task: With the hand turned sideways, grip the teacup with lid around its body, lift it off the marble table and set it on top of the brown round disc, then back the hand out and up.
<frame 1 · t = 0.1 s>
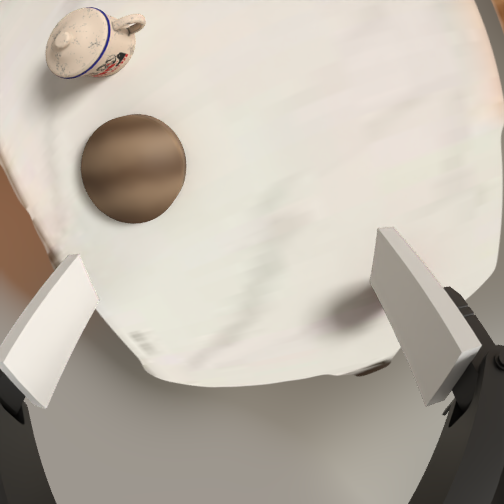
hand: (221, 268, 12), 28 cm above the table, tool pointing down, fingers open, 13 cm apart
teacup with lid: (118, 44, 27), on the table
brown round disc: (135, 166, 37), on the table
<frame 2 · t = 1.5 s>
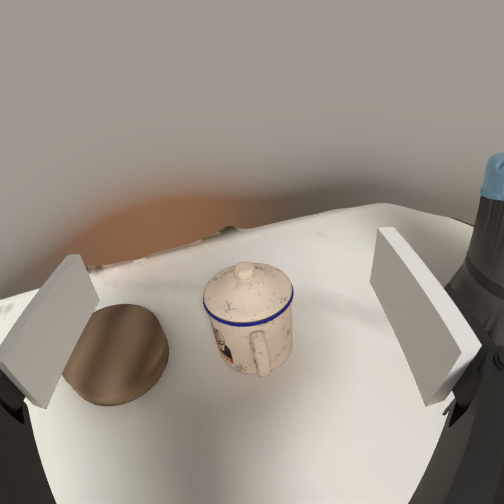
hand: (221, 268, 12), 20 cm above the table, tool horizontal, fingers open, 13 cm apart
teacup with lid: (258, 356, 32), on the table
brown round disc: (116, 358, 33), on the table
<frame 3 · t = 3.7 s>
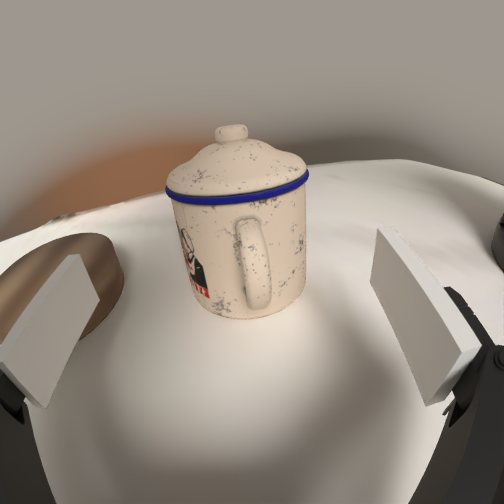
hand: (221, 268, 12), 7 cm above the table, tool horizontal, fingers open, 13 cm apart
teacup with lid: (252, 296, 21), on the table
brown round disc: (55, 299, 22), on the table
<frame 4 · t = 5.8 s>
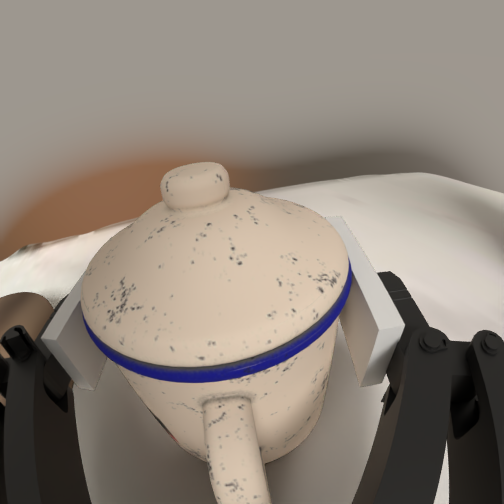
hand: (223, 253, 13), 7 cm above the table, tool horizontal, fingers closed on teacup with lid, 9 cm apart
teacup with lid: (244, 420, 13), on the table, touching gripper
brown round disc: (3, 381, 13), on the table
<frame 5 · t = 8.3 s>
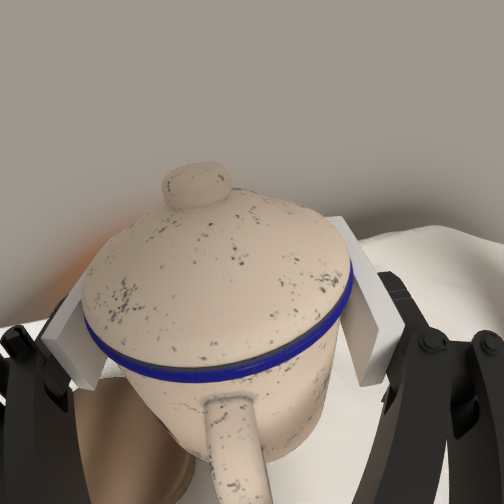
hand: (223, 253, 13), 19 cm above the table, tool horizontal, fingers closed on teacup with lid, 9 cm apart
teacup with lid: (245, 420, 13), point 11 cm above the table, touching gripper
brown round disc: (120, 452, 20), on the table
when the fingers open (12 cm above the table, at t = 10.7 s): teacup with lid drops 2 cm, resting on brown round disc.
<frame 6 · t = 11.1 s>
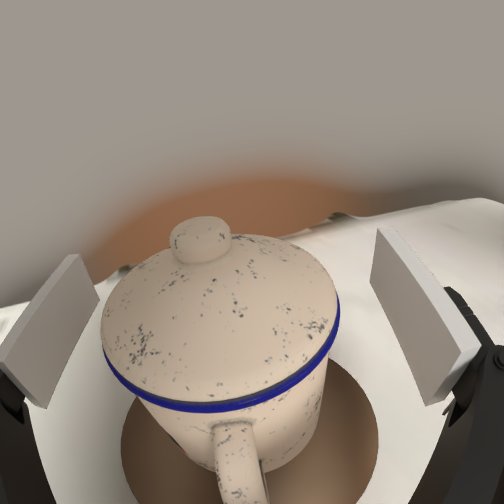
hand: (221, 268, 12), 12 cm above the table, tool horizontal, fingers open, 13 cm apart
teacup with lid: (246, 434, 14), point 3 cm above the table, touching brown round disc
brown round disc: (249, 449, 15), on the table
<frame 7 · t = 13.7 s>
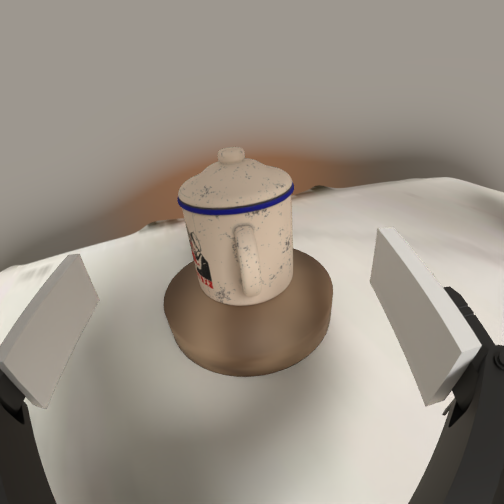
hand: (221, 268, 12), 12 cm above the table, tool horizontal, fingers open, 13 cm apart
teacup with lid: (248, 287, 25), point 3 cm above the table, touching brown round disc
brown round disc: (250, 311, 27), on the table
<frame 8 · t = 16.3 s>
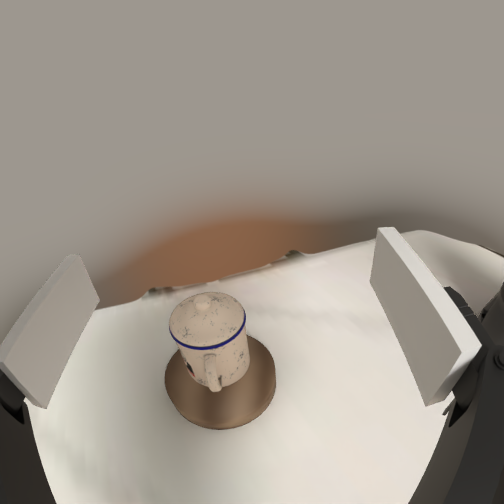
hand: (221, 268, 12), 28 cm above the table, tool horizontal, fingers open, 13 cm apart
teacup with lid: (219, 372, 36), point 3 cm above the table, touching brown round disc
brown round disc: (222, 383, 37), on the table
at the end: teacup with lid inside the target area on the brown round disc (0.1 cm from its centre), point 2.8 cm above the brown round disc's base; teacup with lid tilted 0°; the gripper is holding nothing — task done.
